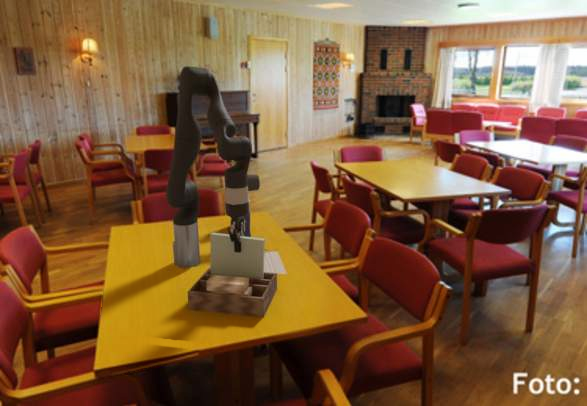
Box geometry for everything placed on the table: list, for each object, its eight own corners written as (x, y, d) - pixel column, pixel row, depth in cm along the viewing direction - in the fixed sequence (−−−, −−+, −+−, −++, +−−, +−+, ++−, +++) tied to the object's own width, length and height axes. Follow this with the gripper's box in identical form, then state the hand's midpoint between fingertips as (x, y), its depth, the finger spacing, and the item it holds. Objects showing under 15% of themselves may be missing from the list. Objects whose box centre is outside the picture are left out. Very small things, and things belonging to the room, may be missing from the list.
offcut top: (206, 290, 134) (206, 281, 134) (212, 283, 139) (212, 274, 138) (244, 294, 132) (243, 285, 132) (248, 286, 137) (248, 277, 136)
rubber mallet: (234, 243, 193) (231, 177, 185) (231, 237, 200) (229, 173, 192) (261, 240, 196) (260, 175, 188) (258, 235, 203) (257, 172, 195)
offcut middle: (210, 299, 135) (209, 290, 134) (216, 292, 140) (215, 283, 139) (247, 303, 133) (247, 294, 132) (252, 295, 138) (251, 286, 137)
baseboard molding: (257, 291, 151) (291, 288, 153) (257, 283, 150) (291, 280, 153) (248, 256, 181) (277, 254, 183) (248, 250, 180) (277, 248, 182)
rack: (189, 313, 136) (187, 291, 134) (210, 287, 153) (209, 267, 151) (264, 321, 132) (263, 298, 129) (277, 293, 149) (276, 273, 146)
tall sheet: (210, 283, 148) (210, 234, 143) (212, 281, 150) (212, 232, 144) (261, 291, 145) (263, 240, 140) (263, 288, 147) (265, 238, 142)
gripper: (232, 194, 146) (234, 242, 151) (218, 205, 133) (221, 258, 138) (254, 195, 145) (255, 244, 149) (241, 206, 132) (243, 259, 136)
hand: (238, 250), depth 144 cm, fingers closed on tall sheet, 1 cm apart
